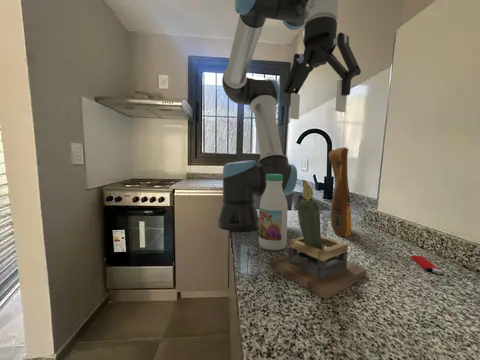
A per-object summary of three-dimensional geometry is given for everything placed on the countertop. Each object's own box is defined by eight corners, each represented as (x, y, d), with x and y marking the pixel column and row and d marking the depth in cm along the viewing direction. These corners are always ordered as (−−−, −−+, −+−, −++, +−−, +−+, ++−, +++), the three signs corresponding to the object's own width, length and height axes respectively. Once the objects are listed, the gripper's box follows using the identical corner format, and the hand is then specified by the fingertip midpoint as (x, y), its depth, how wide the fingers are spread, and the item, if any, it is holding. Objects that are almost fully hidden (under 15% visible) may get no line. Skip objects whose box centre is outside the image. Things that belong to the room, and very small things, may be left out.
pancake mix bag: (331, 238, 69) (336, 146, 67) (324, 221, 88) (328, 149, 85) (355, 240, 67) (361, 146, 65) (343, 223, 86) (347, 149, 83)
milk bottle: (269, 238, 68) (271, 172, 66) (291, 246, 63) (294, 174, 61) (252, 245, 63) (254, 173, 61) (275, 253, 57) (277, 175, 55)
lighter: (424, 256, 55) (444, 272, 47) (424, 261, 55) (444, 277, 48) (411, 255, 56) (429, 270, 48) (410, 259, 56) (428, 275, 48)
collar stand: (270, 266, 50) (271, 238, 50) (310, 252, 58) (311, 228, 58) (325, 299, 39) (327, 263, 38) (366, 276, 47) (368, 245, 46)
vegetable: (327, 276, 46) (318, 181, 43) (305, 276, 47) (294, 184, 44) (323, 264, 50) (314, 177, 47) (303, 264, 51) (293, 179, 48)
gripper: (272, 40, 62) (270, 119, 64) (365, -15, 41) (356, 104, 43) (292, 48, 66) (288, 122, 68) (384, 1, 45) (375, 109, 48)
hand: (315, 115), depth 56 cm, fingers open, 13 cm apart
